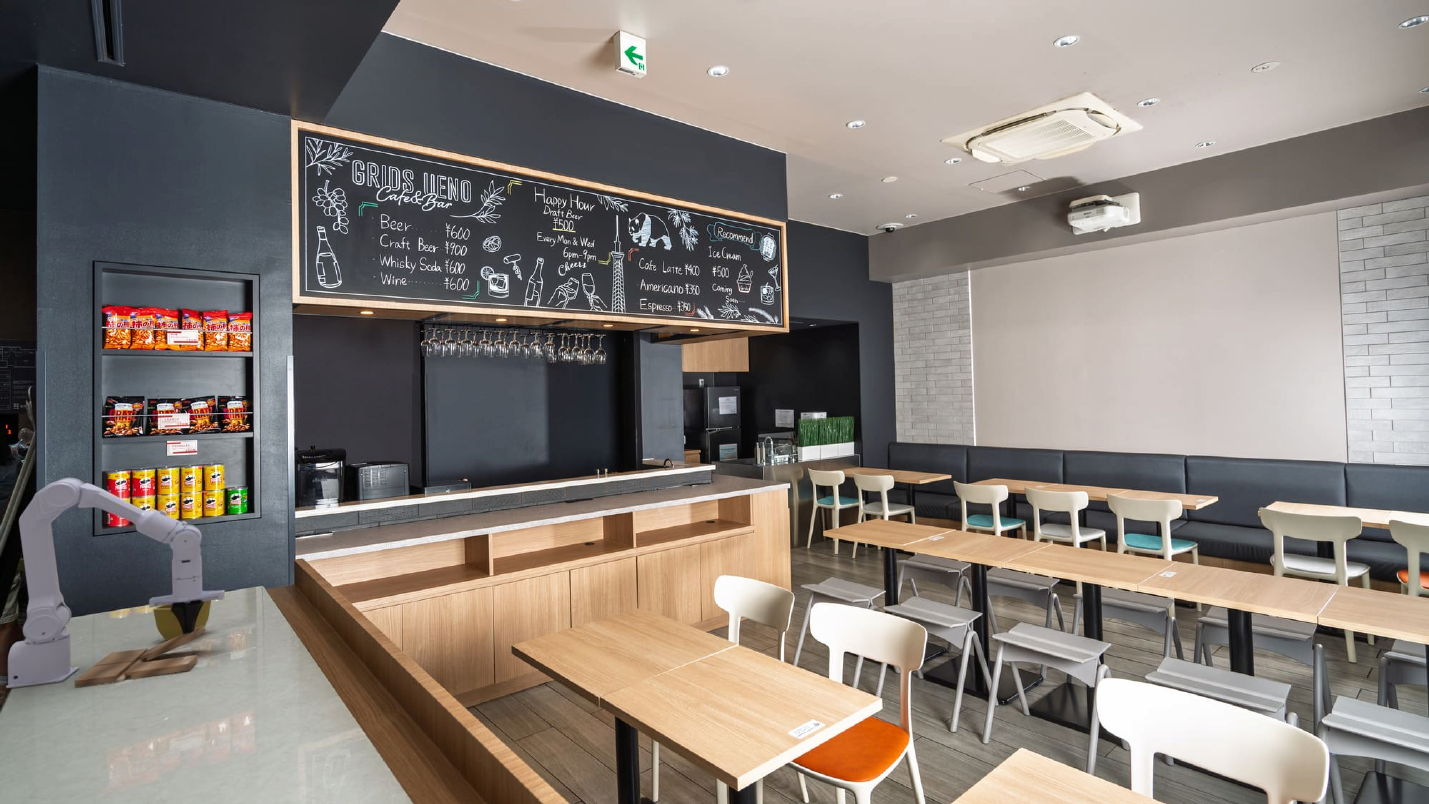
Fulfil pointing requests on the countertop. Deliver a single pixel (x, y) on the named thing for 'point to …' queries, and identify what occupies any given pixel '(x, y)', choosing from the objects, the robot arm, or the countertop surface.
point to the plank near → (161, 667)
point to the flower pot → (171, 625)
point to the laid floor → (111, 668)
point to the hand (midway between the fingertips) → (188, 632)
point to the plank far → (173, 643)
